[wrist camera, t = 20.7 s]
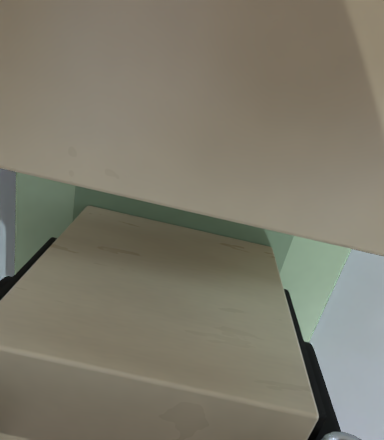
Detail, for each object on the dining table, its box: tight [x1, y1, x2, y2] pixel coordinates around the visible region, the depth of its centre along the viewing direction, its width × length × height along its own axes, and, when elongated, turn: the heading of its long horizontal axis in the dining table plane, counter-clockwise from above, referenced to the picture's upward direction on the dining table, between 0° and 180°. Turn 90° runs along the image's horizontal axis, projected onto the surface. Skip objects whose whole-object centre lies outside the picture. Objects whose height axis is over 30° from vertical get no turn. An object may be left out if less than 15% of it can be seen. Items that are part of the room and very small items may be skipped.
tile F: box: [0, 206, 319, 440], centre depth 8 cm, size 5×5×5 cm
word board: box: [15, 172, 351, 342], centre depth 8 cm, size 22×9×1 cm, turn 168°
